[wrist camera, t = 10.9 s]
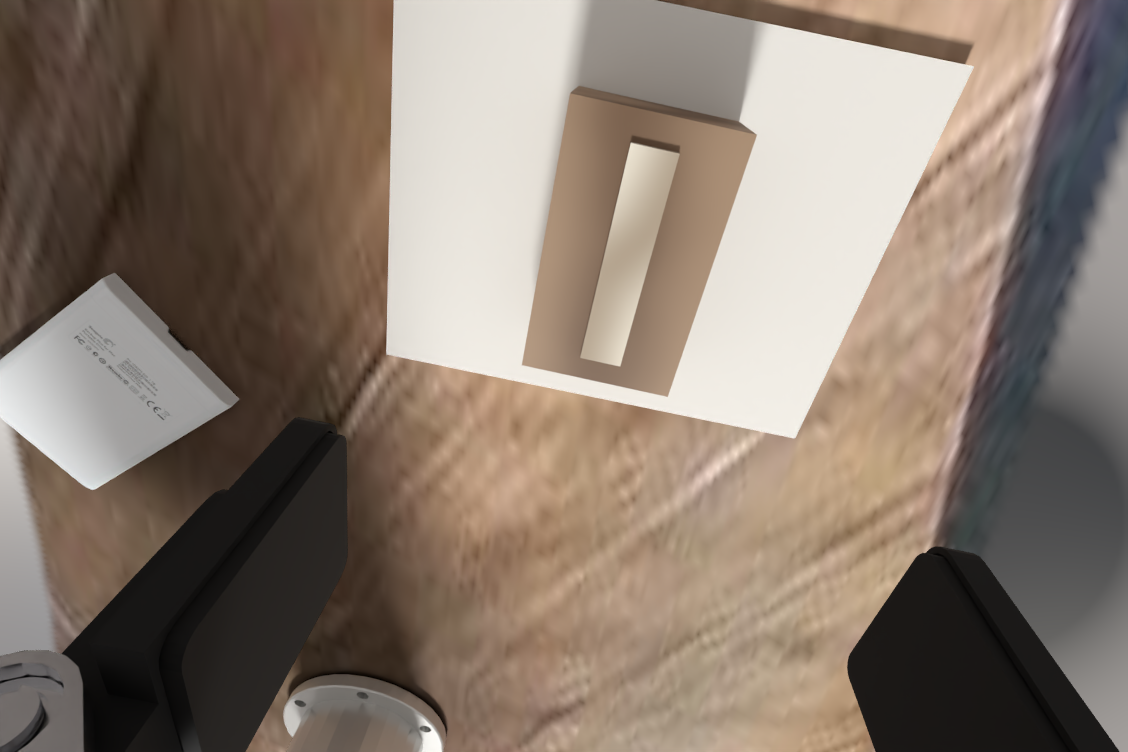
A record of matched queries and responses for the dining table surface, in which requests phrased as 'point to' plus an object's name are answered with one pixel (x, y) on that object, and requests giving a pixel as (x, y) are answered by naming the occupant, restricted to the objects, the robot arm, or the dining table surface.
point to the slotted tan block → (631, 237)
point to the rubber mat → (674, 78)
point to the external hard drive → (106, 385)
